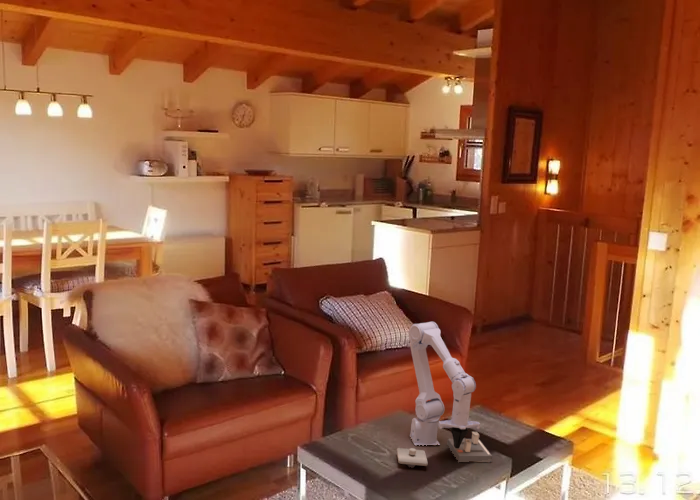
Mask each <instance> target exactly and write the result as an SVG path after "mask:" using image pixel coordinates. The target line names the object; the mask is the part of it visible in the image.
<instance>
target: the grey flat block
mask: <svg viewBox="0 0 700 500" xmlns="http://www.w3.org/2000/svg"><path fill="white" fill-rule="evenodd" d="M464 439H465V438H464ZM464 439H463V440H462V442H461V445H460V447H459V448H455V447H454V441H453V438H447V441H446V446H447V445H448V446H449V447H448V446H447V447H448V449H449V448H450V449H449V450H450V452H451V451H452V452H451V454H452V455H453V454H454V455H453V456H454V458H455V457H456V458H455V460H456V461H457V460H458V461H457V463H459V462H469V461H482V460H488V459H493V455H492V454H491V452H490V451H489V449H487V447H486V446H485V445H484V443H483V442H482V441H481V440H480V439H478V444H473V442H472V441H471V440H472V438H468V439H469V440H470V441H471V448H470V452H465V450H464V449H463V448H464Z"/></svg>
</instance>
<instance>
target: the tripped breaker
mask: <svg viewBox="0 0 700 500" xmlns="http://www.w3.org/2000/svg"><path fill="white" fill-rule="evenodd" d="M469 439H470V438H464V448H463V449H464V450H465V452H470V448H471V441H470V440H469Z"/></svg>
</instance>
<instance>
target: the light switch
mask: <svg viewBox="0 0 700 500" xmlns="http://www.w3.org/2000/svg"><path fill="white" fill-rule="evenodd" d="M396 455H397V460H398V461H397V462H398V464H402V465H406V466H408V468H410V467H411V469H413V468H414V467H415V466H424V467H427V466H428V458H427V454H426V452H425V450H424V449H416V448H415V447H410V448H402V447H397V448H396Z"/></svg>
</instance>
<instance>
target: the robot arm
mask: <svg viewBox="0 0 700 500" xmlns="http://www.w3.org/2000/svg"><path fill="white" fill-rule="evenodd" d="M407 333H408V337H409V338H408V339H409V343H410V344H409V345H410V351H411V352H410V353H411V357H412V363H413V366H414V367H413V368H414V371H415V377H416V382H417V386H418V392H419V393H418V396H417V397H416V399H415V400H414V401H415V415H416V417H413V418H412V419H411V425H410V434H409V437H411V438H410V440H411V439H412V440H411V441H412V443H413V445H414V446H415V447H419V446H420V445H422V446H424V445H426V446H427V445H437V444H438V445H441V444H440V442H439V441H438V437H437V436H438V431H439V429H440V430H441V429H444V428H445V429H450V432H451V435H452V439H453V441H454V447H455V448H459V447H460V445H461V442H462V440H463V439H465V437H466V436H467V435H468V432H469V431H468V430H469V429H476V430H480V427H481V423H480V421H475V420H469V417H470V409H471V408H470V407H471V400H472V393H474V392H475V390H476V389H477V384H476V381H475V379H474V377H472V376H471V375H469V374H468V373H466V372H465V370H464V368H463V367H462V365H461V363H460V361H459V360H458V359H457V358H456V357H453V356H452V355H451V353H450V350H449V349H448V347H447V345H446V343H445V341H444V340H443V339H442V337H441V329H440V328H439V325H438V324H437V323H436V322H435V321H427V322H420V323H413V324H412V325H411V326H410V328H409V330H408V331H407ZM428 346H431V347H432V348H433V350H434V351H435V353H436V354H437V356H438V357H439V358H440V359H441V361H442V362H443V363H442V368H443V370H444V371H445V373H446V375H447V376H448V378H449V379H450V381H451V389H452V392H453V401H452V402H453V404H452V412H451V419H446V420H440V419H441V416H443V414H444V413H445V405H444V402H443V401H442V397H441V395H440V394H439V393H438V392H436V391H435V388H434V382H433V377H432V373H431V368H430V363H429V357H428V353H427V348H428ZM417 445H419V446H417ZM422 446H421V447H422ZM426 446H425V447H426ZM427 447H428V446H427Z"/></svg>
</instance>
